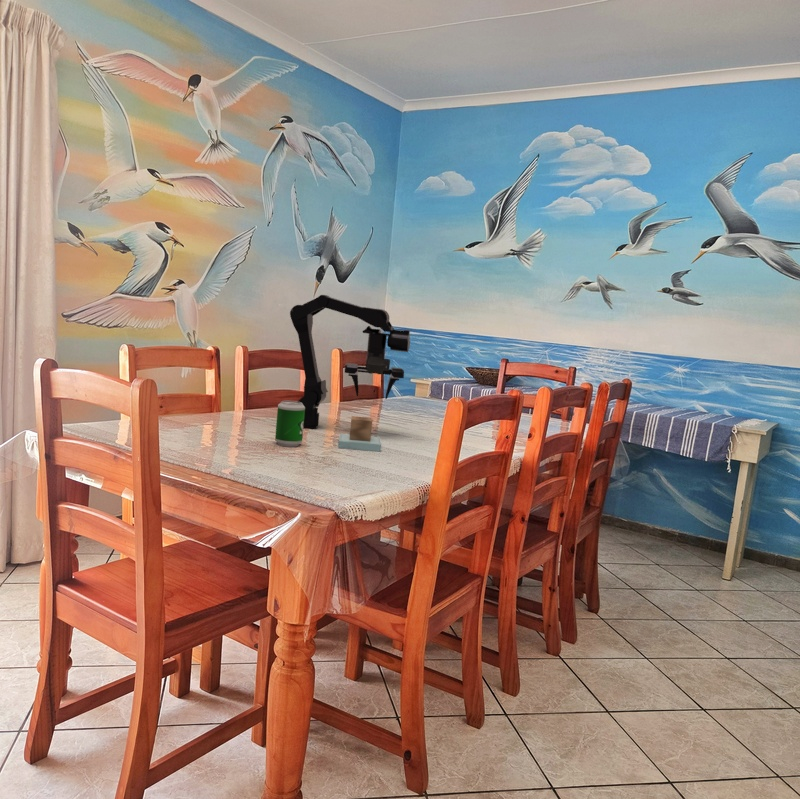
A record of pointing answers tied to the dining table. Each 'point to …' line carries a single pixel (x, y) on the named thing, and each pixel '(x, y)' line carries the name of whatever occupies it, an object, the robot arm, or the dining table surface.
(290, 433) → the soda can
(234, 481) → the dining table surface
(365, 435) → the walnut cube
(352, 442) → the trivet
